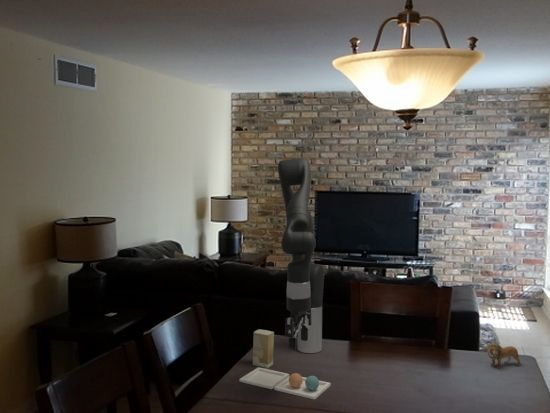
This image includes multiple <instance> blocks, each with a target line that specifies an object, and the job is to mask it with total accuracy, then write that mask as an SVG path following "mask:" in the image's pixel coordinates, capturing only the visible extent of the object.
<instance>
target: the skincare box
mask: <svg viewBox="0 0 550 413" xmlns="http://www.w3.org/2000/svg"><path fill="white" fill-rule="evenodd" d="M252 340H253V345H252V365H253V366H257V367H260V368H265V369H269V368H270V367H271V366H273V365H274V350H275V349H274V345H275V344H274V342H275V332H274V331H270V330H267V329H260V328H259V329H256V330H255V331H253V338H252Z"/></svg>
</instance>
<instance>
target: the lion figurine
mask: <svg viewBox="0 0 550 413" xmlns="http://www.w3.org/2000/svg"><path fill="white" fill-rule="evenodd" d="M486 353H487V355H488V357H489V359H491V362H492V363H490V366H491V367H494V366H495V364H496V360H497V366H496V368H497V369H501V368H502V366H501V363H502V362H501V361H502V359H506V358H507V360H506V361H504V364H506V365H508V364H509V363H510V362H511V360H512V358H513V360H515V361H516V363H515V364H516V366H518V367H519V366H521V360H520V357H519V352H518V349H517V348H516V347H514V346H510V345H508V346H506V347H501V346H500V345H499V344H497V343H496V342H490V343H488V345H487V346H486Z"/></svg>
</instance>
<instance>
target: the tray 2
mask: <svg viewBox="0 0 550 413" xmlns="http://www.w3.org/2000/svg"><path fill="white" fill-rule="evenodd" d="M289 377H290V375H289ZM289 377H288V378H286V379H285V380H284V381H282V382H281V383H280V384H278V385H277V386H275V387H274V388H273V390H274V391H277V392H280V393H286V394H289V395H294V396H297V397H303V398H306V399H311V400H316V399H317V398H319V397H320V396H321V395H322V394H323V393H324V392H325V391H326V390H328V389H329V388H330V387H331V385H332V384H331V382H329V381H328V382H327V381H323V380H319V386H318V388H317V389H316V390H309V389H308V388H307V387H306V385H305V381H306V379H307V378H308V377H304V376H301V377H302V384H301V385H300V386H299V387H296V388H295V387H292V386H291V385H290V384H289Z"/></svg>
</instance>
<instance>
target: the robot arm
mask: <svg viewBox="0 0 550 413" xmlns="http://www.w3.org/2000/svg"><path fill="white" fill-rule="evenodd" d="M277 171H278V172H277V173H278V179H279V184H280V187H281V192H282V197H283V201H284V202H283V203H284V208H285V217H286V226H285V230H284V233H283V235H282V238H281V242H280V244H281V245H280V246H281V250H282V251H283V252H284V254H286V255H292V256H291V259H292V261H290V262H289V263H288V264H287V270H286V273H287V276H286V279H287V280H286V281H287V282H286V310H288V311H289V312H290V317H285V319H284V320H285V322H284V337H285V338H288V348H289V349H290V350H296V349H297V351H299V352H300V353H303V354H305V353H306V354H316V353H320V352H321V351H322V347H323V346H322V345H323V342H322V341H323V298H324V283H325V269H324V267H323V265H322V264H320V263H311V262H312V257H313V254H314V251H315V247H316V244H317V243H316V237H315V234H314V232H315V229H314V222H313V216H312V214H311V212H310V211H309V201H310V200H309V199H310V191H311V181H312V180H311V179H312V177H311V176H312V174H311V172H312V171H311V165H310V162H309V160H308V159H307V158H306V157H299V158H289V159H288V158H287V159H281V160H280V161H279V162H278V165H277ZM299 185H300V186H299ZM291 186H299V187H298V189H297V191H296V192H295V193H294V191H293V189H292V187H291Z"/></svg>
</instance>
